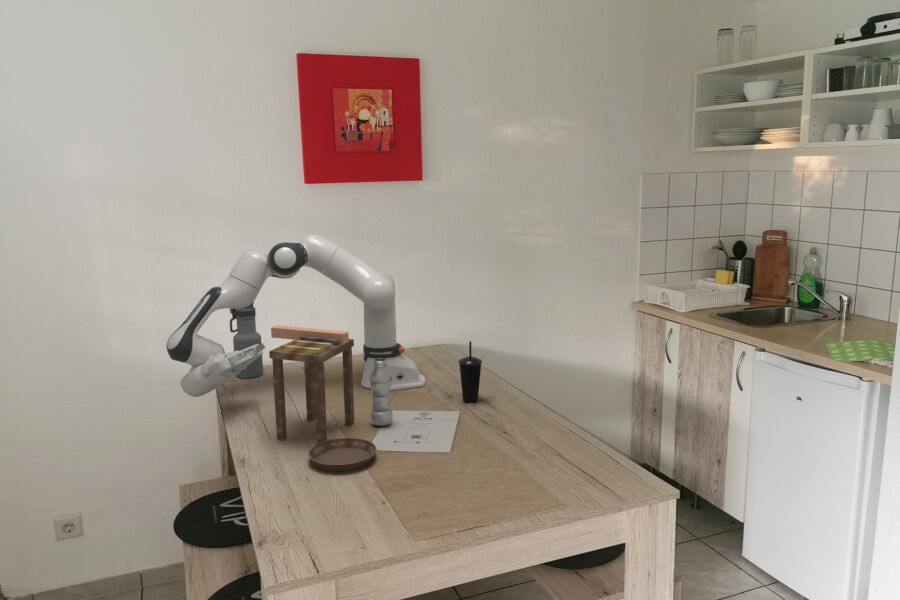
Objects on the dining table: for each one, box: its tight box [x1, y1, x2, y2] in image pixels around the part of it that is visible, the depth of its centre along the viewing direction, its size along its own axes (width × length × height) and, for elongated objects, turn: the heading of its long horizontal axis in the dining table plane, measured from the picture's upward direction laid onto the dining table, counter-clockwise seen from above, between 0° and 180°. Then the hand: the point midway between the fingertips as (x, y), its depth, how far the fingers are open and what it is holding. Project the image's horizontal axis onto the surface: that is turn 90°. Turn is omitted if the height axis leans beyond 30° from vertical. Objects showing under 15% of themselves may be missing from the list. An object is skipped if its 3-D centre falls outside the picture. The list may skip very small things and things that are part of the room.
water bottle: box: [229, 301, 264, 380], centre depth 255 cm, size 10×10×28 cm
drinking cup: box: [458, 341, 483, 404], centre depth 227 cm, size 8×8×20 cm
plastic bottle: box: [369, 358, 394, 427], centre depth 208 cm, size 6×7×20 cm
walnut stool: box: [268, 334, 355, 445], centre depth 202 cm, size 16×19×28 cm
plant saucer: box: [307, 437, 377, 472], centre depth 185 cm, size 18×18×3 cm
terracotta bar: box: [270, 325, 350, 344], centre depth 205 cm, size 24×3×3 cm, turn 70°
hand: (253, 349), depth 213 cm, fingers open, 8 cm apart
